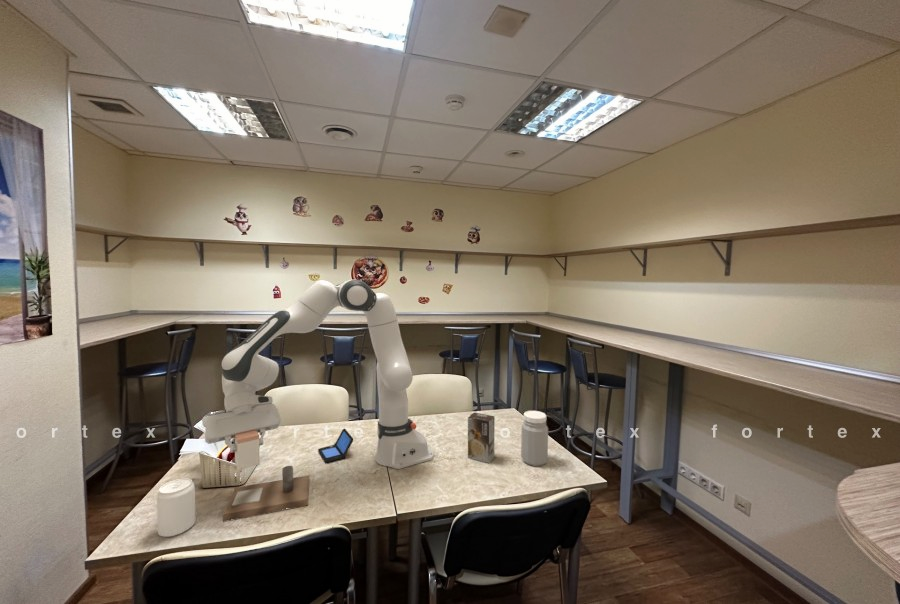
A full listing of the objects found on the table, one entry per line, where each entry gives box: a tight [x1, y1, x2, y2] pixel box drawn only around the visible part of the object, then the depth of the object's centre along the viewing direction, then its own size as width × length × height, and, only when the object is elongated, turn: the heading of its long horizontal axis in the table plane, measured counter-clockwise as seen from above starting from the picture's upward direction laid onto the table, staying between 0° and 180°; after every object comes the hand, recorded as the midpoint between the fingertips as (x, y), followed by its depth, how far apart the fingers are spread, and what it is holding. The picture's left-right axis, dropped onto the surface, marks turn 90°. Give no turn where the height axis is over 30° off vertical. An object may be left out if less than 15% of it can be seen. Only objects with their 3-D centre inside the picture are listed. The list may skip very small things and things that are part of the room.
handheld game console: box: [317, 428, 354, 464], centre depth 138 cm, size 12×11×7 cm
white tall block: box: [234, 430, 260, 471], centre depth 106 cm, size 6×6×9 cm
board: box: [222, 465, 310, 522], centre depth 109 cm, size 22×14×9 cm, turn 110°
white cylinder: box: [156, 477, 196, 537], centre depth 96 cm, size 8×8×12 cm
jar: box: [520, 410, 549, 467], centre depth 134 cm, size 10×10×18 cm
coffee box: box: [467, 412, 495, 464], centre depth 136 cm, size 9×6×16 cm
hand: (247, 448), depth 106 cm, fingers closed on white tall block, 6 cm apart
